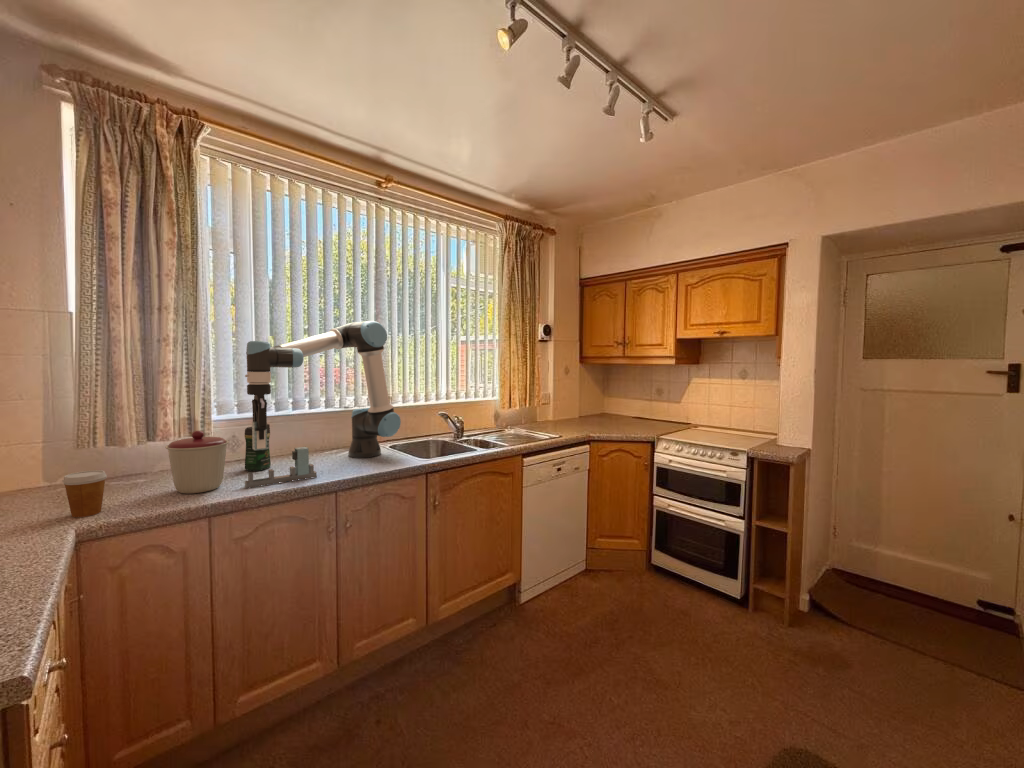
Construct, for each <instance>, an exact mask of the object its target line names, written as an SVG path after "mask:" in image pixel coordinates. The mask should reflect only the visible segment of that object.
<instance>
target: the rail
mask: <svg viewBox="0 0 1024 768" xmlns="http://www.w3.org/2000/svg"><path fill="white" fill-rule="evenodd" d="M309 450H310V449H309V447H306V446H301V447H300V446H299V447H294V450H292V453H291V457H292V460H294V466H289V474H286V475H279V476H278V475H277V476H275V470H274V469H273V468H272V469H268V477H264V478H263V477H262V478H257V479H254V472H253V471H248V472H247V480H244V488H245V489H250V488H249V487H252V488H256V487H255V486H259V487H262V486H261V485H265V486H268V485H267V484H271V485H274V484H273V483H278V484H280V483H279V482H284V483H287V482H286V481H291V482H293V481H292V480H297V481H299V480H298V479H303V480H306V479H305V478H310V479H312V478H311V477H316V478H317V477H318V474H317V473H318V472H317V471H315V465H314V464H312V463H309V462H310V461H309V459H310V457H309V455H310V454H309V453H310V452H309Z"/></svg>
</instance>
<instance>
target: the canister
mask: <svg viewBox="0 0 1024 768" xmlns="http://www.w3.org/2000/svg"><path fill="white" fill-rule="evenodd" d="M229 443H230V441H229V440H227V439H225V438H223V437H220V436H219V437H218V436H205V432H204V431H203V430H195V431H193V432H192V433H191V437H188V438H182V439H176V440H174V441H172V442H170V443H169V444H168V445H165V449H166V450H167V452H168V458H169V464H170V470H171V476H172V481H173V485H174V488H175V490H176V491H177V492H178V493H181V494H201V493H206V492H211V491H214V490H216V489H218V488H219V487H220V486H221V485H222V483H223V479H224V473H225V465H226V454H227V445H228V444H229Z"/></svg>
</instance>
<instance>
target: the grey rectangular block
mask: <svg viewBox="0 0 1024 768" xmlns="http://www.w3.org/2000/svg"><path fill="white" fill-rule="evenodd" d="M270 425H271V424H270V423H267V429H266V430H265V439H266V448H261V449H257V431H255V429H257V421H255V422H253V421H252V422H251V427H252V446H253V450H264V449H267V433H269V432H270V433H271V428H270Z"/></svg>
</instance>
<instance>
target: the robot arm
mask: <svg viewBox="0 0 1024 768" xmlns="http://www.w3.org/2000/svg"><path fill="white" fill-rule="evenodd" d="M387 340H388V333H387V330H386V328H385V327H384V325H382V324H381V323H380V322H378V321H374V320H367V321H366V320H364V321H354V322H350V323H347V324H344V325H341V326H337V327H334V328H331V329H330V330H329V331H328V332H323V333H321V334H316V335H311V336H308V337H305V338H302V339H297V340H294V341H289V342H285V343H283V344H278V345H274V346H271V343H270V342H269V341H264V340H262V341H261V340H249V341H248V342H247V343H246V351H245V352H246V353H245V354H246V374H244V377H245V378H246V382H247V383H248V384H247V385H246V394H247V395H250V396H253V399H252V400H251V405H252V407H251V408H252V422H255V421H257V429H255V431H257V449H261V448H266V439H265V430H266V429H267V424H268V423H267V422H268V421H267V420H268V419H267V417H268V416H267V409H268V402H267V399H265V396H266V395H271V393H272V385H271V384H270V383H271V382H272V376H271V375H272V373H271V372H272V371H271V370H272V369H271V368H291V369H293V368H299V367H301V366H303V363H304V358H305V357H309V356H312V355H315V354H320V353H322V352H323V353H324V352H327V351H331V350H333V349H336V350H341V349H346V348H356V351H357V354H358V355H360V356H361V358H362V364H363V369H364V376H365V382H366V387H367V393H368V400H369V405H370V406H369V407H367V408H366V407H364V408H355V409H353V410H352V412H351V442H350V444H349V445H350V446H349V448H348V455H347V456H348V457H350V458H358V459H364V458H365V459H366V458H372V457H373V458H374V457H378V456H380V455H381V454H382V449H381V446H380V444H379V440H378V437H380V438H381V437H383V438H390V437H393V436H394V435H396V434H397V433H398V431H399V430H400V427H401V421H402V420H401V417H400V415H399V414H398V413H397V412H395V409H394V405H392V404H391V403H390V399H389V394H388V387H387V382H386V381H387V380H386V376H385V375H386V374H385V369H384V363H383V362H384V361H383V356H382V352H384V350H385V348H384V345H385V344H386V342H387Z"/></svg>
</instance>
